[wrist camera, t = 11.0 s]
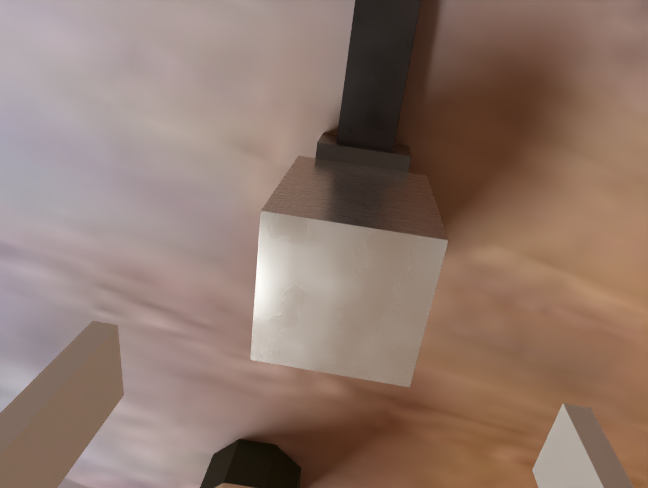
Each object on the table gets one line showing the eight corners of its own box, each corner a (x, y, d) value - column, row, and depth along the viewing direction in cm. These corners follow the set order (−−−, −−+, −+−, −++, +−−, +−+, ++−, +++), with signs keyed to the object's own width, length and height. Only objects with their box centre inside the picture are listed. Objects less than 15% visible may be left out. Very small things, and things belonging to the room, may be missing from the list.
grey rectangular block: (298, 155, 26) (260, 210, 18) (426, 175, 25) (448, 240, 17) (287, 268, 29) (250, 359, 21) (401, 286, 28) (409, 387, 20)
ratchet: (346, -63, 23) (334, -96, 18) (448, -50, 23) (471, -80, 17) (306, 265, 31) (289, 318, 26) (382, 277, 31) (382, 333, 25)
